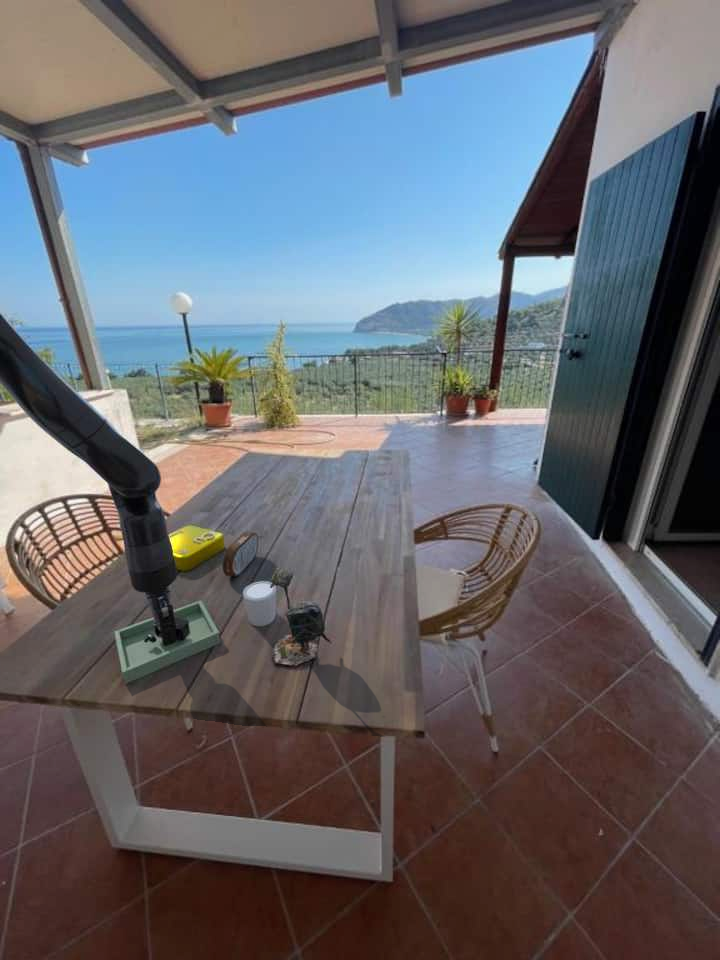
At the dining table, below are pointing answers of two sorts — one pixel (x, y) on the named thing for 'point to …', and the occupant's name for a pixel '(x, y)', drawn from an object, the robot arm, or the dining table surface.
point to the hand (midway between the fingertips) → (166, 634)
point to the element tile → (194, 546)
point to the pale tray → (154, 656)
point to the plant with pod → (298, 626)
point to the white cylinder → (260, 603)
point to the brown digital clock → (240, 554)
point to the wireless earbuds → (180, 631)
